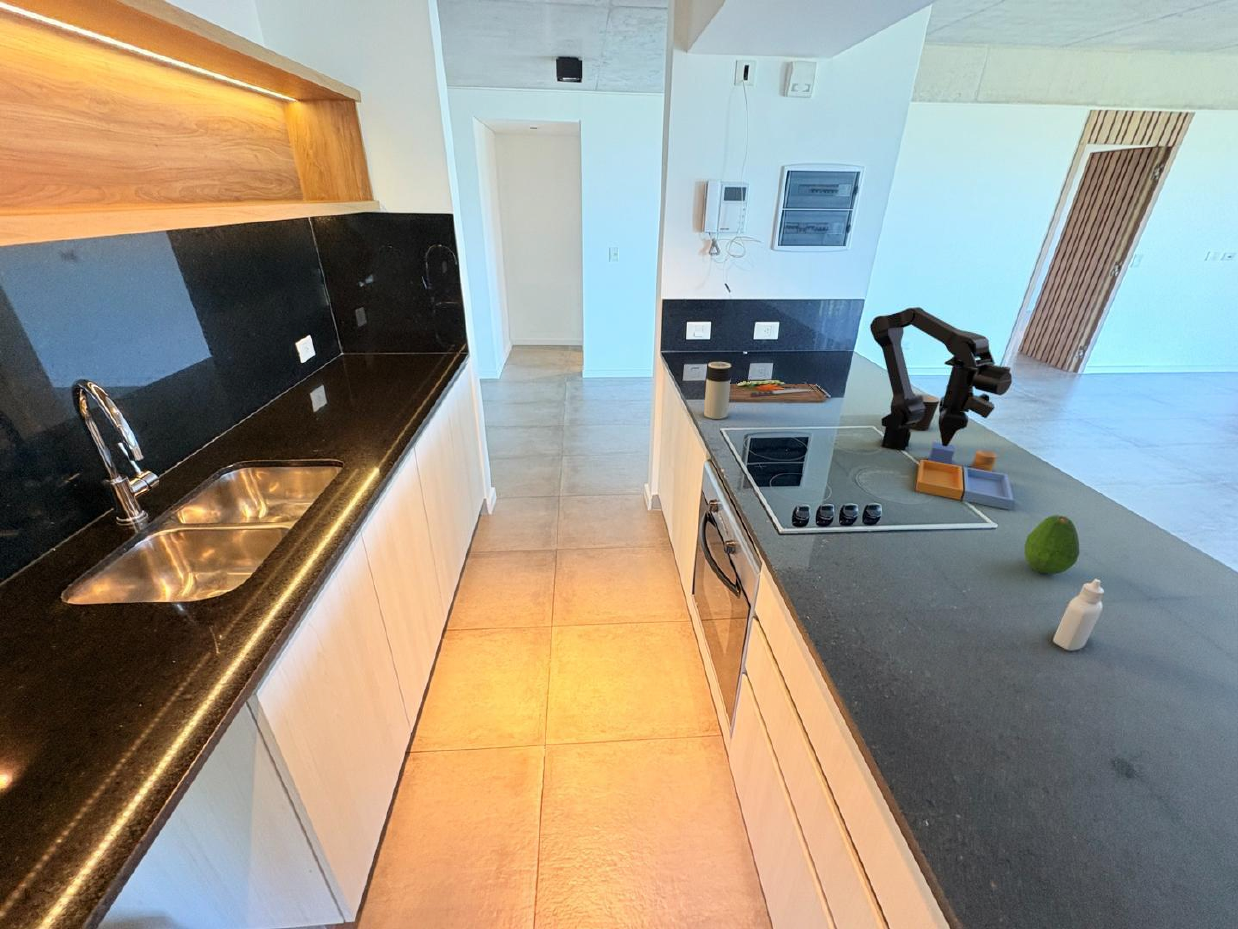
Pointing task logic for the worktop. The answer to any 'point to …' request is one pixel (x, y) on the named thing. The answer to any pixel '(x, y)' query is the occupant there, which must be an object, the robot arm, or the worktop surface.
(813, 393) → the chopping board
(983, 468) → the orange cylinder
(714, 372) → the travel mug
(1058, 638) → the eye dropper bottle
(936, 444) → the blue block
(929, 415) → the coffee mug
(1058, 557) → the avocado
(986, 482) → the blue tray
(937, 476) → the amber tray
